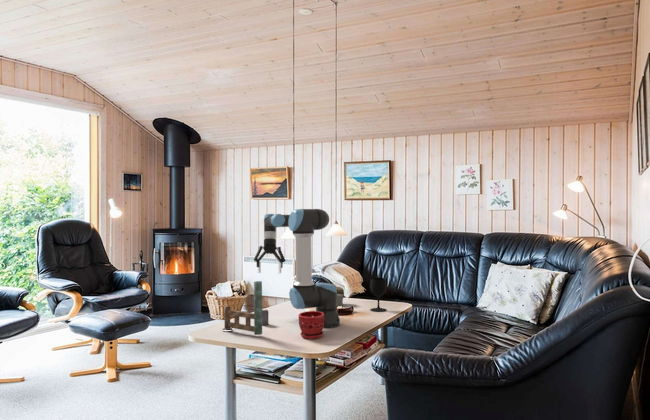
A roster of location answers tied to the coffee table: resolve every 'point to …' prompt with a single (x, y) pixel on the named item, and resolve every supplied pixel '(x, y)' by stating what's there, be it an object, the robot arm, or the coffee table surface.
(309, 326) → the plant pot
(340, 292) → the shell
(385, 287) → the wine glass
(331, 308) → the robot arm
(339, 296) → the digital clock
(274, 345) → the coffee table surface
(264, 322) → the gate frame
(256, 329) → the gate
